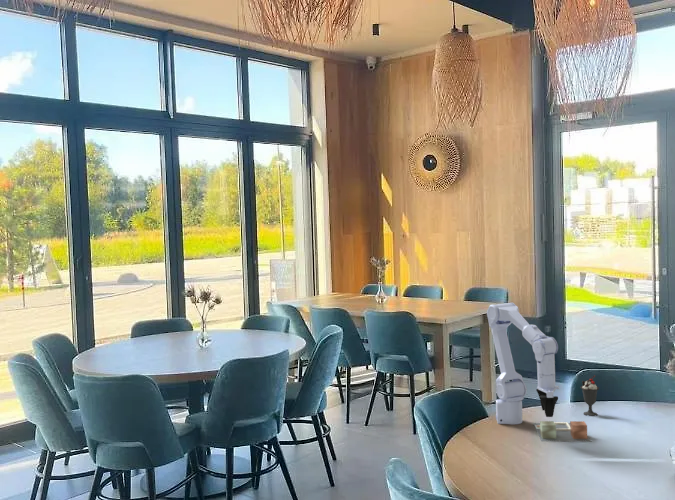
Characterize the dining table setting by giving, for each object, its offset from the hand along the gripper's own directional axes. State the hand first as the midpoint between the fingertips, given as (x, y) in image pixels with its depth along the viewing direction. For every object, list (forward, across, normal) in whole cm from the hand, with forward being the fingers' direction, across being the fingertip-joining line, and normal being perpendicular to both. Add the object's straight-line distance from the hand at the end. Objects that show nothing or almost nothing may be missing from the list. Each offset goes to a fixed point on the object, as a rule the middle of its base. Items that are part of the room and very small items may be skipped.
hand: (547, 413), depth 222 cm
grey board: (+9, +5, -5) cm, 11 cm away
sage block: (+8, 0, 0) cm, 8 cm away
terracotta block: (+8, 0, -10) cm, 13 cm away
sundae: (+9, +29, -20) cm, 36 cm away
